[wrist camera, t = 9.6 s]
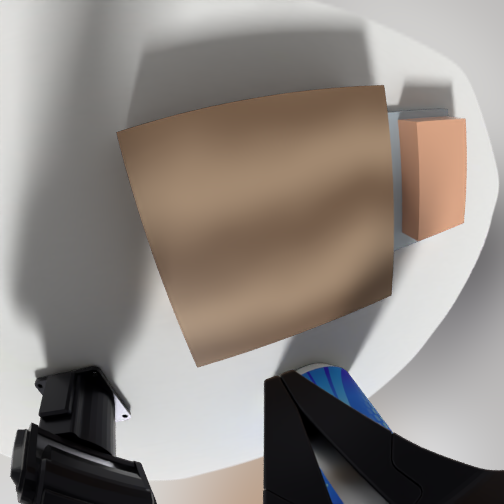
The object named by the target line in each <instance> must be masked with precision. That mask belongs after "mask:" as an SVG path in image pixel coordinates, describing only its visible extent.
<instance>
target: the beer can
mask: <svg viewBox="0 0 504 504" xmlns="http://www.w3.org/2000/svg"><path fill="white" fill-rule="evenodd" d="M296 372H298V373H299V374H301V375H302V376H304V377H305V378H307V379H308V380H310V381H311V382H313V383H314V384H316V385H317V386H319V387H320V388H322V389H324V390H325V391H327V392H328V393H330V394H331V395H333V396H335V397H336V398H338V399H339V400H341V401H342V402H344V403H346V404H347V405H349V406H350V407H352V408H354V409H355V410H357V411H359V412H360V413H362V414H363V415H365V416H367V417H368V418H370V419H372V420H373V421H375V422H377V423H378V424H380V425H382V426H384V427H385V428H387V429H389V430H390V428H389V427H388V425H387V424H386V423H385V421H384V420H383V419H382V417H381V416H380V415H379V413H378V412H377V411H376V409H375V408H374V407H373V405H372V404H371V403H370V401H369V400H368V399H367V397H366V396H365V395H364V393H363V392H362V391H361V389H360V388H359V387H358V385H357V384H356V383H355V381H354V380H353V379H352V377H351V376H350V375H349V373H348V372H347V371H346V370H345V369H343V368H341V367H337V366H331V365H329V364H323V363H318V364H311V365H308V366H305V367H302V368H300V369H298V370H296ZM390 431H391V430H390ZM392 433H393V432H392ZM320 470H321V469H320ZM321 473H322V476H323V478H324V481H325V484H326V487H327V489H328V492H329V495H330V498H331V500H332V503H333V504H344V503H343V502H342V500H341V499H340V497H339V496H338V494H337V493H336V491H335V490H334V488H333V487H332V485H331V484H330V482H329V481H328V479H327V478H326V476H325V475H324V473H323V472H322V470H321Z"/></svg>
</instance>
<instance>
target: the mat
mask: <svg viewBox="0 0 504 504" xmlns="http://www.w3.org/2000/svg"><path fill="white" fill-rule="evenodd" d="M442 116H448V109H430V110H412V111H397V112H388V121H389V131H390V142H391V155H392V171H393V196H394V251H395V250H398V249H400V248H403V247H405V246H408V245H411V244H413V243H416V242H418V241H416V240H415V239H413V238H411V237H409V236H408V235H406V234H404V233H402V174H401V154H400V139H399V127H398V120H400V119H412V118H425V117H442ZM420 241H421V240H420Z"/></svg>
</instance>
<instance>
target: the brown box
mask: <svg viewBox="0 0 504 504" xmlns="http://www.w3.org/2000/svg"><path fill="white" fill-rule="evenodd" d="M116 133H117V137H118V141H119V145H120V149H121V153H122V156H123V160H124V164H125V167H126V171H127V174H128V178H129V181H130V185H131V188H132V192H133V195H134V198H135V202H136V205H137V208H138V211H139V214H140V218H141V221H142V224H143V227H144V230H145V233H146V236H147V239H148V242H149V245H150V248H151V251H152V254H153V256H154V259H155V262H156V265H157V268H158V271H159V273H160V276H161V279H162V281H163V284H164V287H165V290H166V292H167V295H168V297H169V300H170V303H171V305H172V308H173V310H174V313H175V315H176V318H177V320H178V323H179V325H180V328H181V330H182V333H183V335H184V338H185V340H186V342H187V345H188V347H189V349H190V352H191V354H192V356H193V359H194V361H195V363H196V366H197V367H201V366H204V365H207V364H211V363H214V362H217V361H220V360H224V359H227V358H230V357H233V356H236V355H239V354H242V353H245V352H248V351H251V350H254V349H257V348H260V347H263V346H266V345H269V344H271V343H274V342H277V341H280V340H283V339H285V338H288V337H291V336H294V335H296V334H299V333H302V332H304V331H307V330H310V329H312V328H315V327H317V326H320V325H322V324H325V323H327V322H330V321H332V320H335V319H337V318H340V317H342V316H345V315H347V314H350V313H352V312H354V311H357V310H359V309H361V308H364V307H366V306H368V305H371V304H373V303H375V302H378V301H380V300H382V299H384V298H387V297H389V296H391V294H392V278H393V253H394V196H393V171H392V155H391V142H390V131H389V121H388V112H387V103H386V96H385V88H384V85H375V86H354V87H340V88H328V89H317V90H308V91H299V92H292V93H284V94H277V95H270V96H264V97H258V98H252V99H246V100H241V101H236V102H230V103H225V104H221V105H216V106H211V107H207V108H202V109H198V110H194V111H189V112H185V113H181V114H177V115H174V116H170V117H166V118H162V119H159V120H155V121H152V122H148V123H145V124H141V125H138V126H135V127H132V128H128V129H125V130H122V131H119V132H116Z"/></svg>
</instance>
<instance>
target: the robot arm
mask: <svg viewBox="0 0 504 504" xmlns="http://www.w3.org/2000/svg"><path fill="white" fill-rule="evenodd" d="M93 372H96V373H93ZM35 386H36V388H37V389H38V390H39V391H40V393H41V394H42V395H43V397H42V401H41V406H40V410H39V416H40V417H41V419H40V424H39V426H38V425H36V424H34V423H31V425H30V427H29V429H28V430H27V429H25V430H17V433H16V437H15V442H14V447H13V453H12V462H11V476H10V477H11V478H12V480H13V482H14V483H15V485H16V491H17V494H18V495H17V496H18V502H19V503H21V504H157V503H156V500H155V497H154V495H153V492H152V490H151V487H150V485H149V482H148V480H147V477H146V475H145V472H144V469H143V467H142V464H141V463H140V462H136V461H133V462H132V461H129V460H125V459H122V458H119V457H116V439H115V422H117V421H122V420H127V419H130V417H131V413H130V411H129V410H128V408H127V407H126V406H125V404H124V403H123V402H122V400H121V399H120V397H119V396H118V395H117V393H116V392H115V390H114V389H113V387H112V386H111V385H110V383H109V382H108V380H107V379H106V377H105V376H104V374H103V373H102V371H101V370H100V369H99V368H98V367H96V366H91V367H87V368H83V369H79V370H74V371H70V372H66V373H61V374H57V375H52V376H47V377H43V378H38V379H36V381H35ZM320 469H321V470H322V472H323V473H324V475H325V476H326V478H327V479H328V481H329V482H330V484H331V485H332V487H333V488H334V490H335V491H336V493H337V494H338V496H339V497H340V499H341V500H342V502H343V503H344V504H504V470H485V469H481V468H477V467H474V466H471V465H468V464H465V463H462V462H459V461H456V460H453V459H450V458H447V457H444V456H442V455H439V454H437V453H434V452H432V451H429V450H427V449H425V448H422V447H420V446H418V445H416V444H414V443H412V442H410V441H408V440H406V439H405V438H403V437H401V436H399V435H398V434H396V433H392V431H390V430H389V429H387V428H385V427H384V426H382V425H380V424H378V423H377V422H375V421H373V420H372V419H370V418H368V417H367V416H365V415H363V414H362V413H360V412H359V411H357V410H355V409H354V408H352V407H350V406H349V405H347V404H346V403H344V402H342V401H341V400H339V399H338V398H336V397H335V396H333V395H331V394H330V393H328V392H327V391H325V390H324V389H322V388H320V387H319V386H317V385H316V384H314V383H313V382H311V381H310V380H308V379H307V378H305V377H304V376H302V375H301V374H299V373H298V372H296V371H294V370H290V371H287V372H285V373H282V374H280V376H274V377H271V378H268V379H266V380H265V381H264V491H263V504H333V503H332V500H331V498H330V495H329V492H328V489H327V487H326V484H325V481H324V478H323V476H322V473H321V470H320Z"/></svg>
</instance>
